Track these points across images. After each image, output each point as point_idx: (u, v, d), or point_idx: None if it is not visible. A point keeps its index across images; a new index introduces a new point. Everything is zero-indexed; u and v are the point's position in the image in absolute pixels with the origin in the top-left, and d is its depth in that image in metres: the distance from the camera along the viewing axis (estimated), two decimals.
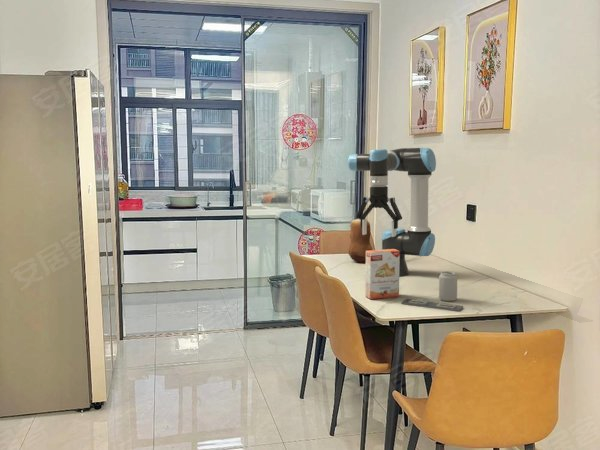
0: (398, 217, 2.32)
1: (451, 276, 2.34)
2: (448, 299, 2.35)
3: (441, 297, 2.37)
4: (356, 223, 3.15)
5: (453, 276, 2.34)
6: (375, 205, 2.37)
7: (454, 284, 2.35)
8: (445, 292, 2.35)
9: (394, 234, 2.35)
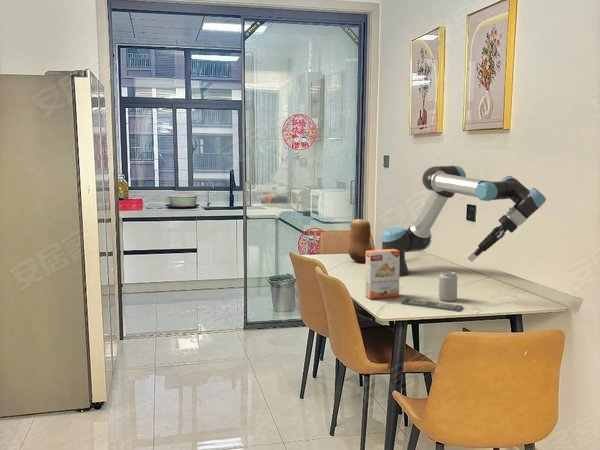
0: (482, 245, 2.29)
1: (451, 276, 2.34)
2: (448, 299, 2.35)
3: (441, 297, 2.37)
4: (356, 223, 3.15)
5: (453, 276, 2.35)
6: (494, 232, 2.32)
7: (454, 284, 2.35)
8: (445, 292, 2.35)
9: (470, 258, 2.34)
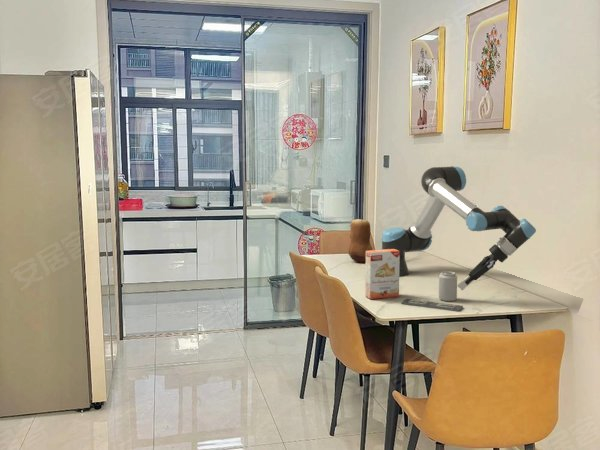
0: (473, 274, 2.32)
1: (451, 276, 2.34)
2: (448, 299, 2.35)
3: (441, 297, 2.37)
4: (356, 223, 3.15)
5: (453, 276, 2.34)
6: (484, 261, 2.34)
7: (454, 284, 2.35)
8: (444, 292, 2.35)
9: (461, 286, 2.36)
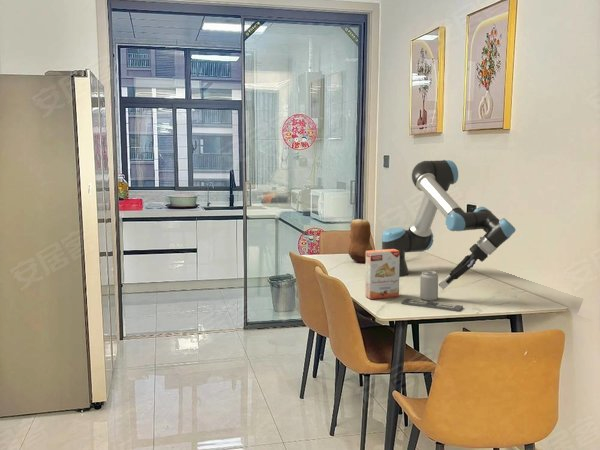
0: (453, 273, 2.33)
1: (431, 275, 2.36)
2: (428, 298, 2.37)
3: (421, 296, 2.39)
4: (356, 223, 3.15)
5: (433, 275, 2.36)
6: (465, 260, 2.36)
7: (434, 283, 2.36)
8: (424, 291, 2.37)
9: (442, 286, 2.38)
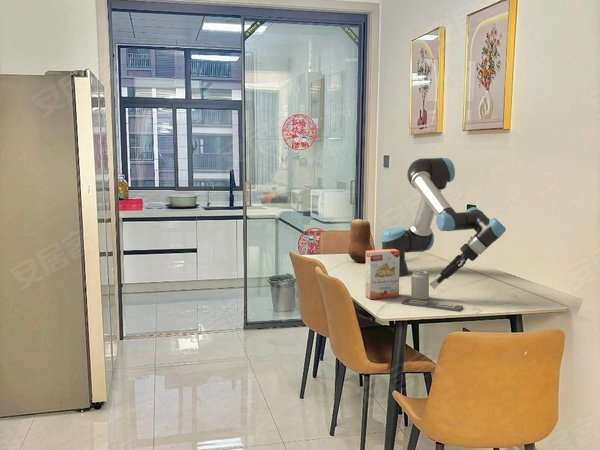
0: (444, 273, 2.34)
1: (421, 275, 2.37)
2: (418, 298, 2.38)
3: (412, 296, 2.40)
4: (356, 223, 3.15)
5: (424, 275, 2.37)
6: (456, 259, 2.37)
7: (424, 283, 2.37)
8: (415, 291, 2.38)
9: (433, 285, 2.38)
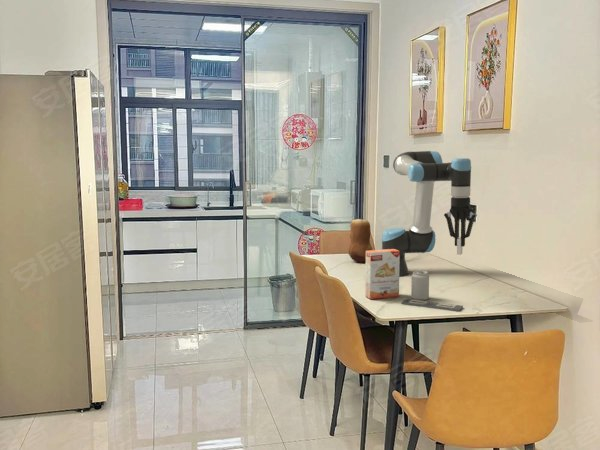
0: None
1: (422, 275, 2.37)
2: (419, 298, 2.38)
3: (412, 296, 2.40)
4: (356, 223, 3.15)
5: (424, 275, 2.37)
6: None
7: (425, 283, 2.37)
8: (415, 291, 2.38)
9: None
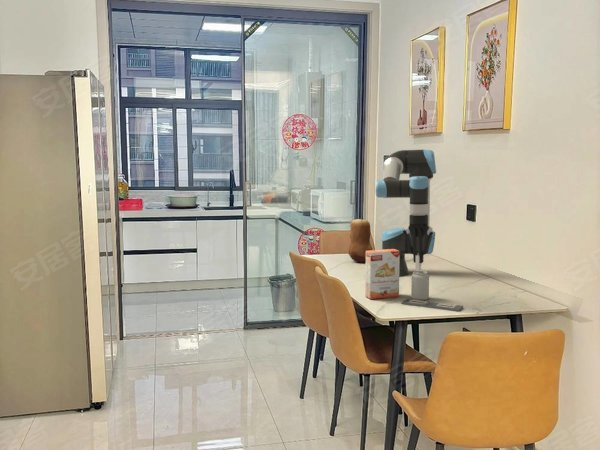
0: None
1: (422, 275, 2.37)
2: (419, 298, 2.38)
3: (412, 296, 2.40)
4: (356, 223, 3.15)
5: (424, 275, 2.37)
6: None
7: (425, 283, 2.37)
8: (415, 291, 2.38)
9: None
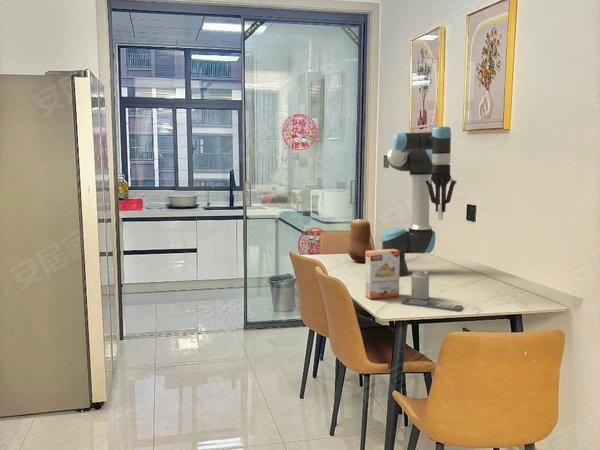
0: None
1: (422, 275, 2.37)
2: (419, 298, 2.38)
3: (412, 296, 2.40)
4: (356, 223, 3.15)
5: (424, 275, 2.37)
6: None
7: (425, 283, 2.37)
8: (415, 291, 2.38)
9: None
